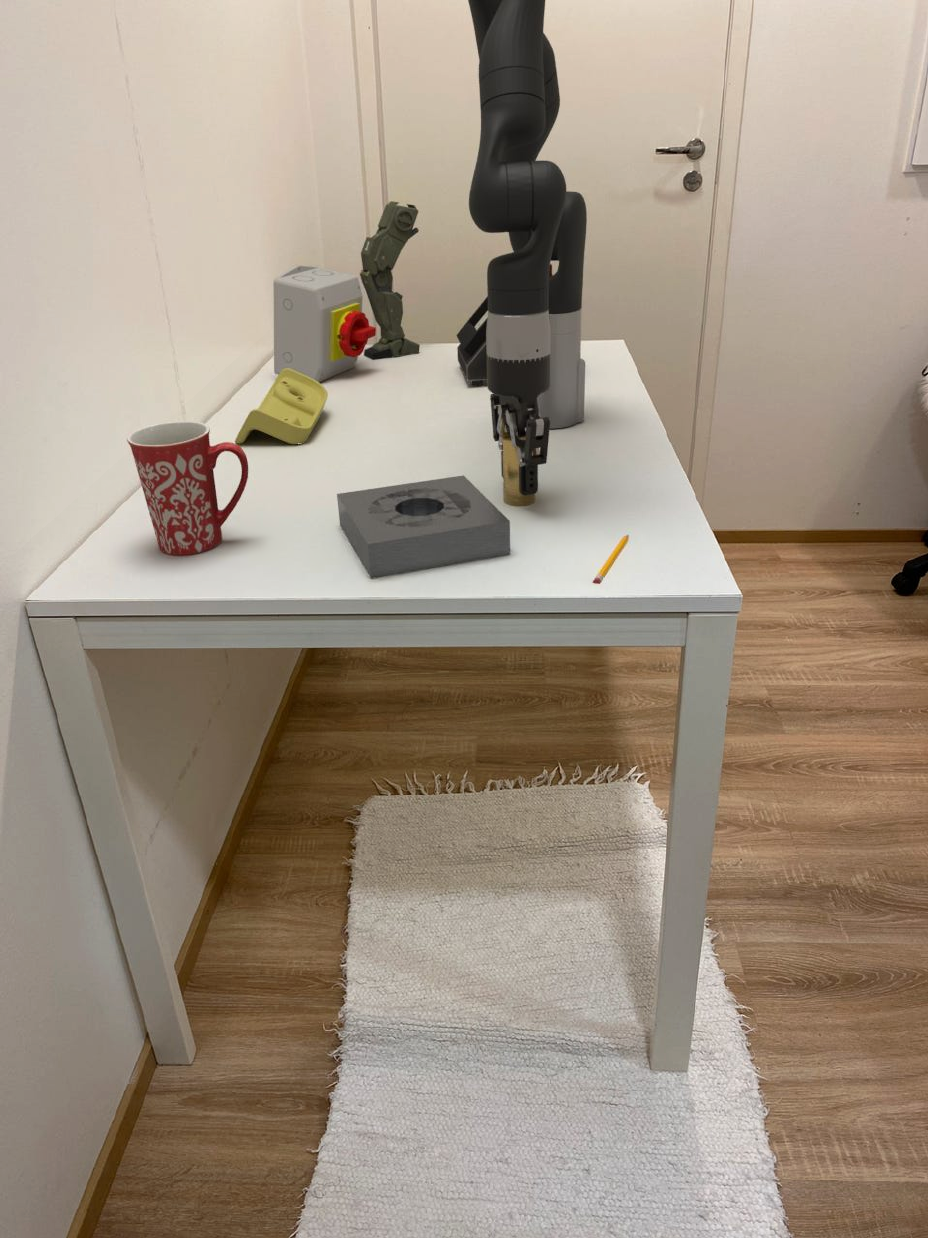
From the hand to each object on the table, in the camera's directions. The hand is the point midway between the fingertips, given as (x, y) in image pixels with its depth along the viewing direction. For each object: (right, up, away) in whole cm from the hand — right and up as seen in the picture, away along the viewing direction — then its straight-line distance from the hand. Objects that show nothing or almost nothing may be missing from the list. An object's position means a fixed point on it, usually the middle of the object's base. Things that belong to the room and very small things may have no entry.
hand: (519, 485), depth 118 cm
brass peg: (0, -2, +1) cm, 2 cm away
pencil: (+9, -11, -15) cm, 20 cm away
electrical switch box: (-33, +30, +62) cm, 77 cm away
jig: (-12, -7, -9) cm, 17 cm away
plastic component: (-35, +13, +32) cm, 50 cm away
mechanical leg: (-21, +38, +77) cm, 88 cm away
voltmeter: (+1, +29, +58) cm, 65 cm away
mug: (-37, -8, -8) cm, 39 cm away
